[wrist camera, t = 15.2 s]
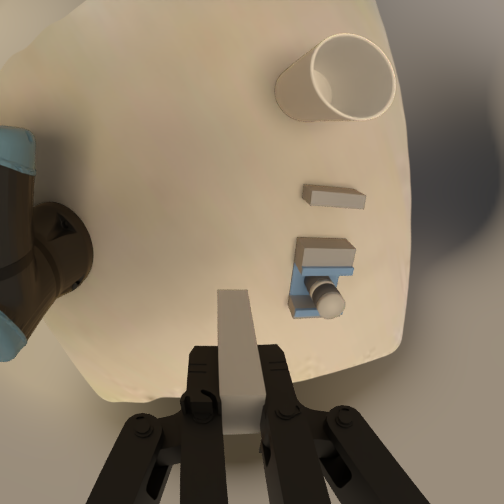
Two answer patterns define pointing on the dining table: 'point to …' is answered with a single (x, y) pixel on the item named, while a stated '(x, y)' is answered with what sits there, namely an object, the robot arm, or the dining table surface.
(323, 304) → the plug
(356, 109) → the cup
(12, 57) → the dining table surface
